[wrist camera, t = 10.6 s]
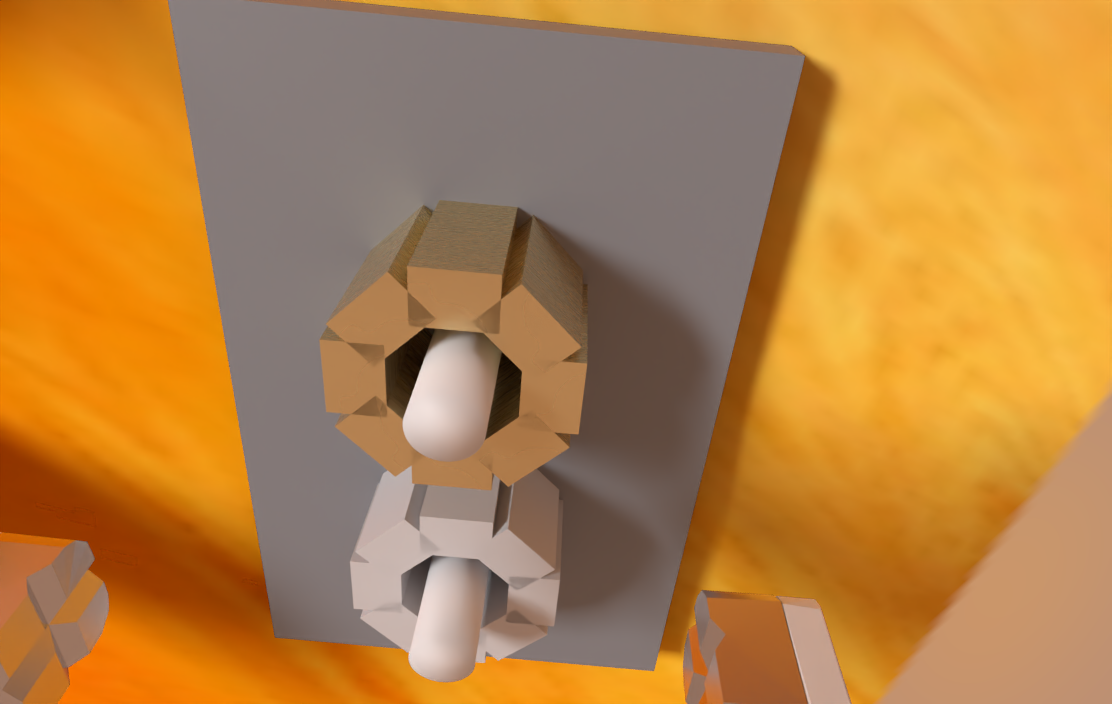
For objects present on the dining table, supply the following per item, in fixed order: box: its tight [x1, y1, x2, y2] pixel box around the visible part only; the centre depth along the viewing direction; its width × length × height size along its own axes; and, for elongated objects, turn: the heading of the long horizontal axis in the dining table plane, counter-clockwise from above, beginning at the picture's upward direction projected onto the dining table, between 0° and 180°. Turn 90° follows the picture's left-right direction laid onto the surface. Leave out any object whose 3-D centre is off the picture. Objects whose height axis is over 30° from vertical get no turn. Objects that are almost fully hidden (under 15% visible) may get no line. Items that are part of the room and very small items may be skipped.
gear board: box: [168, 0, 805, 682], centre depth 19 cm, size 20×13×6 cm, turn 175°
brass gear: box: [319, 200, 588, 490], centre depth 17 cm, size 5×5×4 cm
